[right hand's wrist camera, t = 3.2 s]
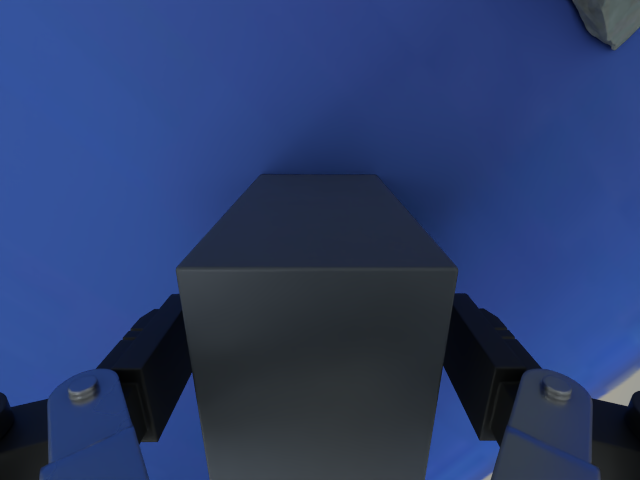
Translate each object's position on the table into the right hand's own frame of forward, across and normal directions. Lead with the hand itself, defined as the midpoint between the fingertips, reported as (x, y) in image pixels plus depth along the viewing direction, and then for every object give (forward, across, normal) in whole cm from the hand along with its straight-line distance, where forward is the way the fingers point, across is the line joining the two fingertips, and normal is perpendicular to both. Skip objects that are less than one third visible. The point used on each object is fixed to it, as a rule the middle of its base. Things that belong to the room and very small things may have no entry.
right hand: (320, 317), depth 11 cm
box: (+7, 0, -7) cm, 10 cm away
